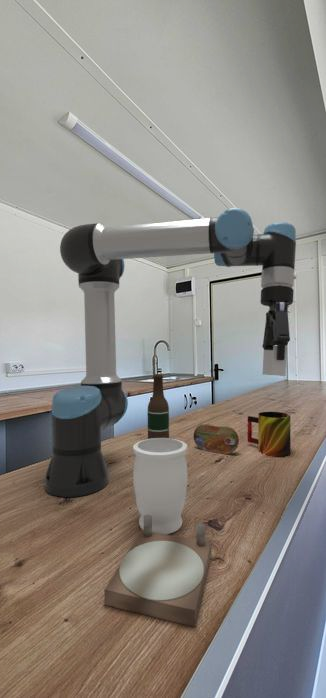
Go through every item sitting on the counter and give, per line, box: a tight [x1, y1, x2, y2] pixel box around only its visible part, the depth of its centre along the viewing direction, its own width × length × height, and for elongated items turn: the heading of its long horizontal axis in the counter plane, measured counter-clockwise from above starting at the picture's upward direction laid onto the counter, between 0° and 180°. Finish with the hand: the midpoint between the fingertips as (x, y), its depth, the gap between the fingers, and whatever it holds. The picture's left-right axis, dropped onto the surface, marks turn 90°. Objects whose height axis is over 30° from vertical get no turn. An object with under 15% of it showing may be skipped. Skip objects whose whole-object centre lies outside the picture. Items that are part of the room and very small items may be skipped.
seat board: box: [103, 515, 212, 628], centre depth 47 cm, size 12×14×5 cm
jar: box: [132, 437, 189, 535], centre depth 61 cm, size 11×10×15 cm
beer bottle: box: [147, 373, 170, 439], centre depth 114 cm, size 8×8×24 cm
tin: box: [193, 423, 240, 455], centre depth 103 cm, size 15×3×8 cm, turn 56°
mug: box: [246, 411, 292, 458], centre depth 102 cm, size 10×14×12 cm
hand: (272, 375), depth 77 cm, fingers open, 13 cm apart
